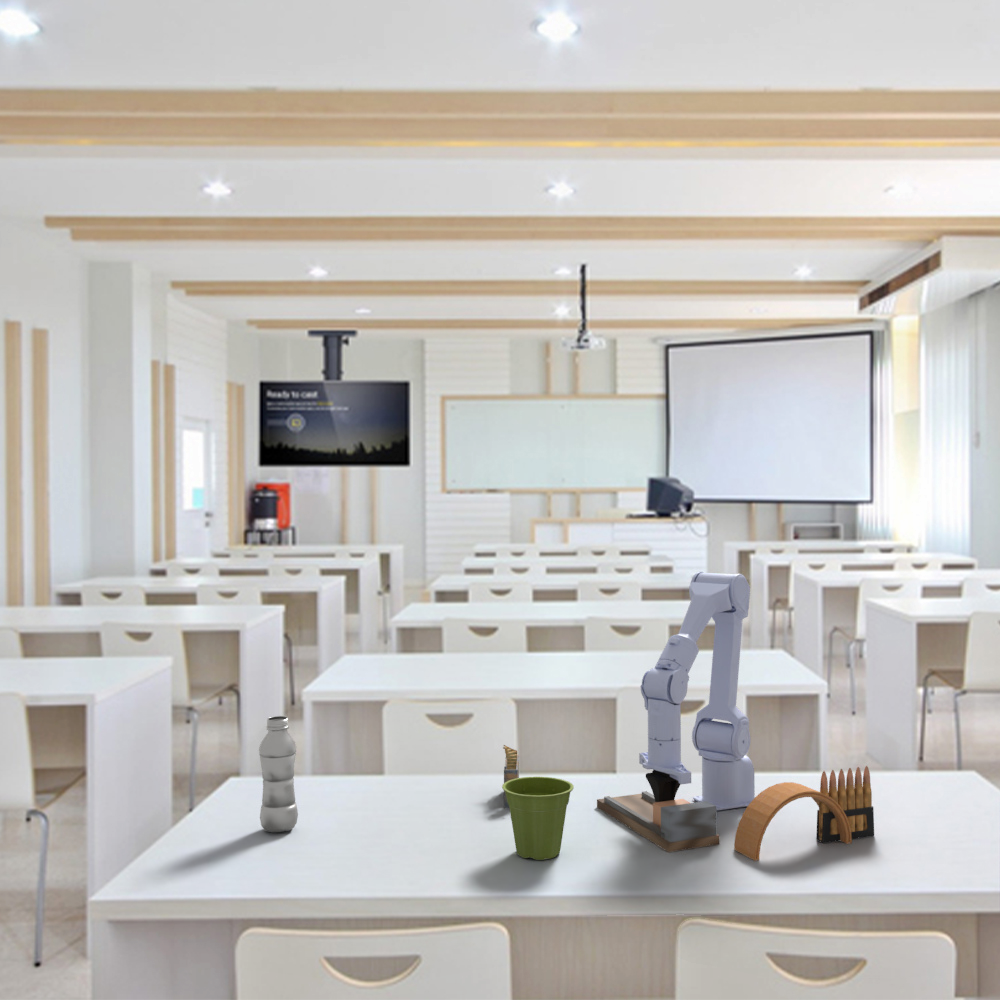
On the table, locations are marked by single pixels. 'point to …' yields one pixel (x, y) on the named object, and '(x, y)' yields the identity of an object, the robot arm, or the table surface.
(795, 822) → the table surface
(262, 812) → the plastic bottle
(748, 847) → the arch
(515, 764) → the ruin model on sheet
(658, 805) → the block
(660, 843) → the keeper track
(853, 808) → the ammunition clip
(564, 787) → the plant pot
